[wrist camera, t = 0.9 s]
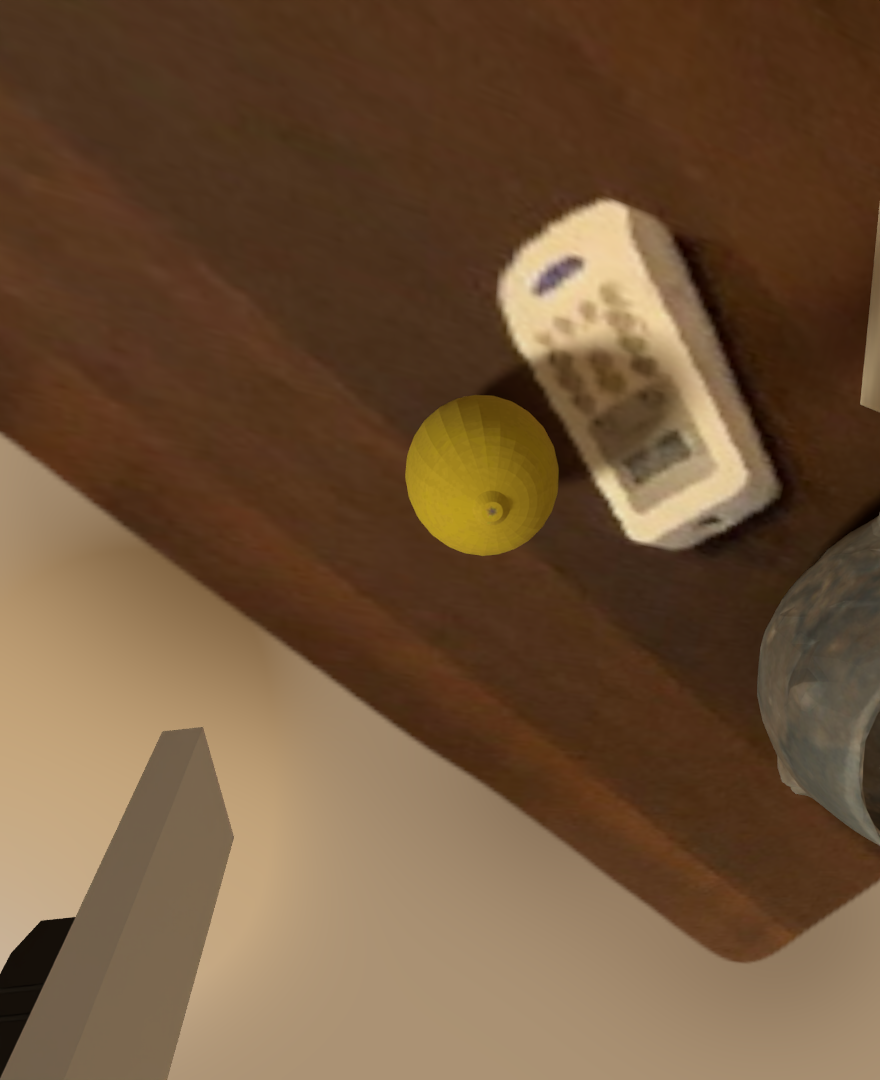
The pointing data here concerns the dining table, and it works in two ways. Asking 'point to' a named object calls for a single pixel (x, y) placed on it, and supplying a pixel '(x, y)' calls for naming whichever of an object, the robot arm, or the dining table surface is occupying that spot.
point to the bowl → (829, 681)
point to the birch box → (873, 339)
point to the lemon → (482, 475)
